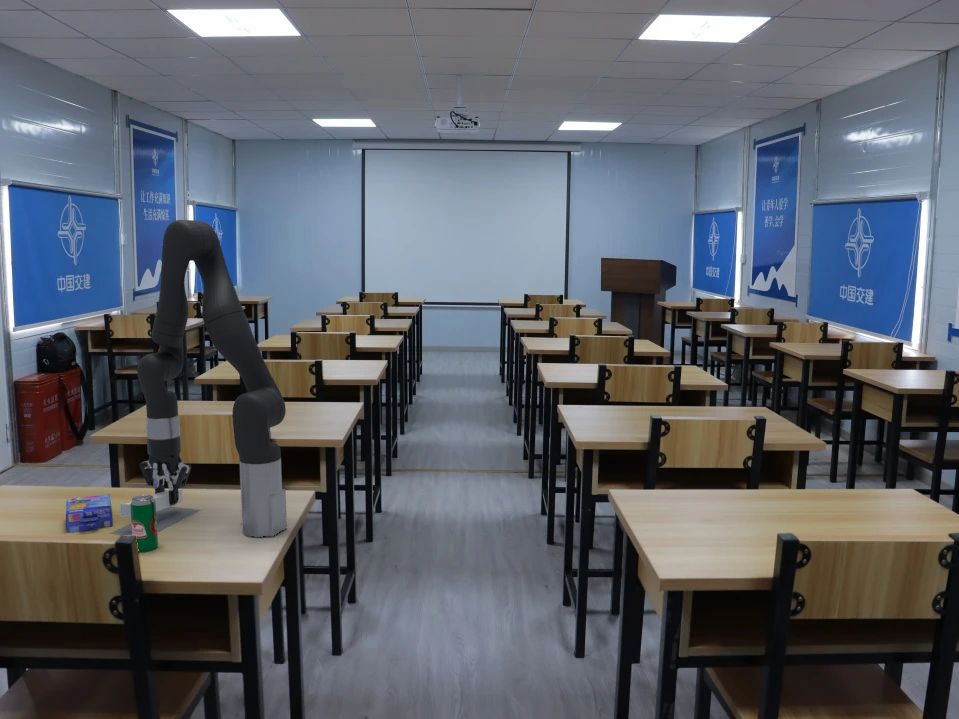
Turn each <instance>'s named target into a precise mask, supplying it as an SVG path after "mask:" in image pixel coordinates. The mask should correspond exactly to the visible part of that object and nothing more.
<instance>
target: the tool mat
mask: <svg viewBox="0 0 959 719" xmlns="http://www.w3.org/2000/svg"><path fill="white" fill-rule="evenodd" d="M200 511H201V509H195V508H187V507H178V506H177V507H176V506H170V507H168V508H165V509H162V510H159V511H157V512H156V517H157V533H159V532H161V531H163V530H165V529H167V528H168V527H171V526H173V525H175V524H177V523H179V522H181V521H182V520H185V519H187V518H189V517H190V516H192V515H194V514H196V513H198V512H200ZM109 534H111V535H119V536H125V535H132V523H131V522H130V523H129V524H126V525H125V526H122V527H120V528H118V529H116V530H114V531H112V532H111V531H110V533H109Z"/></svg>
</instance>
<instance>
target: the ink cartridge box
mask: <svg viewBox="0 0 959 719" xmlns="http://www.w3.org/2000/svg"><path fill="white" fill-rule="evenodd" d="M65 504H66V505H65V509H66V510H65V527H66V528H65V529H66V534H67V533H68V534H70V533H76V532H77V533H78V532H84V531H90V530H97V529H104V528H110V527H111V528H112V527H113V522H114V521H113V507H112V501H111V494H110V493H103V494H94V495H86V496H78V497H69V498H67V499H66V502H65Z"/></svg>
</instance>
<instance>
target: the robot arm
mask: <svg viewBox="0 0 959 719" xmlns="http://www.w3.org/2000/svg"><path fill="white" fill-rule="evenodd" d="M162 240H163V241H162V246H161V247H162V252H161V265H160V266H161V268H160V269H161V270H160V282H159V283H160V286H159V287H160V288H159V296H158V303H157V308H156V312H155V316H154V321H153V325H152V330H151V339H152V341H153V342H154V343H155V344H157V345H159V348H158V352H154V353H153V352H152V353H148V354H146V355H144V356H142V357H141V358H140V360H139V361H138V365H137V374H136V375H137V379H138V381H139V384H140V388H141V391H142V393H143V396H144V399H145V404H146V405H145V407H146V409H145V410H146V427H145V428H146V429H145V430H146V444H147V454H148V455H149V457H148V460H145V461H142V462H140V463H139V468H140V472H141V473H142V475H143V477H144V480H145V482H146V485H147V486H149V487H153V489H154V492H155V493H154V494H157V493H160V492H163V491H166V490H165V489H166V487H165V486H164V485H165V481H166V482H167V487H168V490H169V503H170V505H173V506H175V505H174V504H176V503H177V502H178V500H179V496H178V495H179V493H178V489H182V487H185V486H186V484H187V482H188V479H189V476H190V473H191V470H192V465H191V464H185V463H183V461H182V459H181V455H180V454H181V452H182V443H181V442H182V441H181V425H180V418H179V407H178V404H179V403H178V396H177V394H176V393H175V391H172V390H167V387H166V381H172V380H173V379H175V378H177V377H178V376H179V375H180V373H181V371H182V369H183V365H184V342H183V339H184V335H185V333H186V332H185V331H186V327H187V324H188V319H189V301H188V297H187V292H186V288H185V287H186V286H185V285H186V284H185V278H186V273H187V270H188V267H189V264H190V262H192V261H193V262H194V265H195V266H196V270H197V271H198V273H199V276H200V279H201V282H202V288H203V290H202V291H203V292H202V293H203V295H202V306H201V315H202V321H203V323H204V326H205V329H206V330H207V331H206V332H207V334H208V336H209V339H210V340H211V342H212V345H213V346H214V348H215V349H216V350H217V352H218V353H219V354H220V355H221V356H222V357H223V358H224V359H225V360H226V361H227V362H228V363H229V364H230V365H231V366H232V367H233V368H234V369H235V371H236V372H237V373H238V374H239V375H240V377H241V379H242V381H243V384H244V386H245V388H246V391H247V392H245V393H243V394H240V395H239V396H237V398H236V399H235V400H234V402H233V406H232V412H231V413H232V417H231V418H232V425H233V437H234V439H233V440H234V445H235V449H236V451H237V453H238V456H239V457H238V458H239V480H240V481H239V484H240V503H241V505H240V506H241V525H242V533H244V534H243V535H244V536H247V535H248V536H247V537H250V536H254V537H253V538H264V537H263V536H266V537H275V536H276V534H277V533H278V534H280V533H281V532H283V531H284V530H286V529H287V528H288V521H287V520H288V519H287V517H288V516H287V492H286V488H283V485H282V484H283V483H282V481H283V480H282V458H281V457H282V455H281V454H282V453H281V451H282V450H281V447H280V446H279V444H277V443H273V442H271V440H270V435H269V429H270V428H271V429H272V428H273V427H276V426H278V425H280V424H281V423H282V422H283V421H284V419H285V416H286V411H287V409H286V404H285V400H284V397H283V395H282V392H281V391H280V389H279V387H278V385H277V383H276V381H275V380H274V377H273V376H272V373H271V372H270V370H269V368H268V366H267V364H266V362H265V360H264V357H263V355H262V353H261V350H260V349H259V345H258V343H257V341H256V338H255V336H254V334H253V332H252V328H251V326H250V323H249V320H248V318H247V315H246V313H245V311H244V308H243V305H242V304H241V301H240V299H239V296H238V294H237V291H236V288H235V286H234V283H233V280H232V279H231V278H232V277H231V276H230V272H229V270H228V267H227V263H226V260H225V255H224V253H223V248H222V245H221V242H220V238H219V236H218V234H217V232H216V230H215V228H214V227H213V226H212V225H211V224H209V223H208V222H206V221H202V220H194V219H190V220H189V219H176V220H174V221H172V222H170V223H169V224H168V225H167V227H166V229H165V230H164V234H163V239H162ZM176 505H177V504H176ZM286 527H287V528H286ZM285 528H286V529H285ZM282 530H283V531H282ZM280 531H281V532H280ZM279 532H280V533H279ZM278 534H277V535H278ZM274 535H275V536H274Z"/></svg>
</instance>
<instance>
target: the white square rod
mask: <svg viewBox="0 0 959 719" xmlns="http://www.w3.org/2000/svg"><path fill="white" fill-rule="evenodd" d="M178 493H179V495H178V496H179V500H178V502H177V503H176V504H174V505H170V503H169V489H166V490H165V491H163V492H160V493H157V494H155V493H154V494H151V495H152V496H153V498H154V500H155V501H156V512H157V511H159V510H162V509H165V508H168V507H174V506H175V505H179V504H181V503H183V497H184V496H183V489H182V488H179V489H178ZM131 502H132V501H130V502H127V503H126V502H122V503H119V505H120V506H119V507H120V511H119V513H120V518H121V519H122V518H123V519H130V520H131V508H130V503H131Z"/></svg>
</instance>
